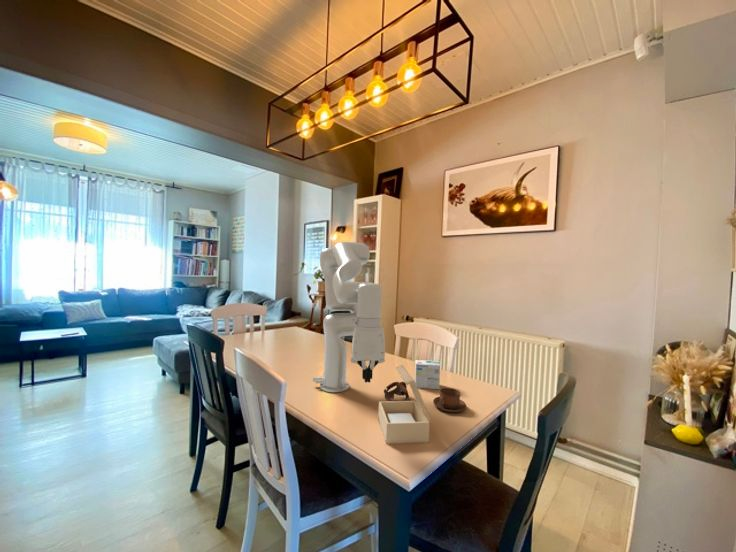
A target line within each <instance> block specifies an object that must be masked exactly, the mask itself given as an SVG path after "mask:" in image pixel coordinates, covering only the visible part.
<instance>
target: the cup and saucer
mask: <svg viewBox="0 0 736 552" xmlns="http://www.w3.org/2000/svg"><path fill="white" fill-rule="evenodd" d="M433 405H434V406H435V407H436V408H438V409H440V411H444V412H446V413H447V412H449V413H459V412H462V411H464V410H465V409H466V408H467V404H466V402H465V401H463V400H462V399H461V392H460V390H457V389H455V388H452V387H451V388H450V387H443V388H441V389H439V396H437V397H434V399H433Z"/></svg>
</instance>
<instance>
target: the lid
mask: <svg viewBox="0 0 736 552" xmlns="http://www.w3.org/2000/svg"><path fill="white" fill-rule="evenodd" d="M395 369H396V371H397V372H398V374H399V375H400V377H401V379H402V380H403V382H405V383H406V386H408V385H409V387H410V389H411V390H412V391H411V392H412V394H413V396H414V399H415V401H416V402H417V404H418V405H419V407H420V408H421V410H422V411H423V413H424V415H425V416H426V418H427V419H428V421H429V422H430V421H431V419H432V418H431V417H430V415H429V412H428V410H427V407H426V405H425V402H424V400H423V398H422V395H421V393H420V391H419V388H417V386H416V383H415V379H413V377H412V376H411V375H410V373H409V372H408V371H407V369H406V367H405V366H404V365H403V364H401V365H398V366H396V367H395Z"/></svg>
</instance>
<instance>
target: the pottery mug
mask: <svg viewBox="0 0 736 552" xmlns="http://www.w3.org/2000/svg"><path fill="white" fill-rule="evenodd" d="M407 386H408V385H406V383H405V382H404V381H394V382H392V383H390V384H388V385H387V386H386V387H385V388H384V389H383V393H384V399H386V400H388V399H389V400H390V399H392V400H395V396H401V397H402V396H403V397H404V396H405V401H411V399H410V395H409V392H408V389H407ZM393 388H394V389H393ZM391 389H392V390H391Z"/></svg>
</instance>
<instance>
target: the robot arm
mask: <svg viewBox="0 0 736 552" xmlns="http://www.w3.org/2000/svg"><path fill="white" fill-rule="evenodd" d="M370 257H371V252H370V249H369V247H368V245H367V244H366V243H363V242H353V241H352V242H350V241H342V242H338V243H337V244H335V246H334V247H327V248H324V249H322V250H321V251H320V253H319V264H320V270H321V272H322V274H323V279H324V289H325V292H324V293H325V295H324V296H325V305H326V308H327V309H328V310H329V311H337V312H338V311H343V312H342V313H341V312H340V313H330V314H327V315H326V316H325V317H324V318H323V323H322V324H323V325H322V326H323V333H324V334H323V335H324V357H323V359H324V361H323V362H324V363H323V375H322V376H319V377H318V376H314V377H313V378H312V382H313V383H315V384H319V388H320V390H322V391H324V392H327V393H341V392H345V391H348V390H349V389H350V383H349V382H348V381H347V357H348V355H347V354H348V347H347V343H346V342H345V341H344V339H343V338H342V337H347V336H352V342H351V358H350V362H351V363H352V364H356V365H358V366H360V367H361V369H362V373H361V374H362V375H361V376H362V380H364V383H365V384H366V383H368V384H370V383H371V380H372V379H373V370H374V368H375V367H376V366H377V365H378V364H383V363H385V361H386V359H385V357H386V342H385V341H386V339H385V329H384V327H382V326H381V325H382V320H381V319H382V291H383V289H382V286H381V284H379V283H374V282H371V281H368V282H367V281H350V280H353V279H354V278H356V277H358V276H359V275H360V274H361V273H362V270H363V266H364V265H366V264H368V262H369V260H370ZM344 311H349V313H347V312H346V313H345V312H344ZM366 362H369V363H368V365H367V364H366Z"/></svg>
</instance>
